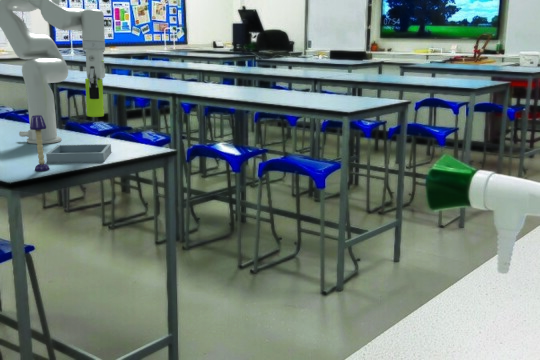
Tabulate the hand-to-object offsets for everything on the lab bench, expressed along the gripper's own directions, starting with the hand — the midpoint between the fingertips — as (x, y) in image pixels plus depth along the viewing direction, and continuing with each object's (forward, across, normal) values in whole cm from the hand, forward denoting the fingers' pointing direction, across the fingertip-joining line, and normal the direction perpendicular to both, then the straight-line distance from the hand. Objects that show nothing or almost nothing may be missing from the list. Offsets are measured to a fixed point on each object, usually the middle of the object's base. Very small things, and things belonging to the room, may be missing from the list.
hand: (96, 97), depth 215 cm
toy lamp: (+19, -35, +11) cm, 41 cm away
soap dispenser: (+7, 0, 0) cm, 7 cm away
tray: (+18, -17, +3) cm, 25 cm away
